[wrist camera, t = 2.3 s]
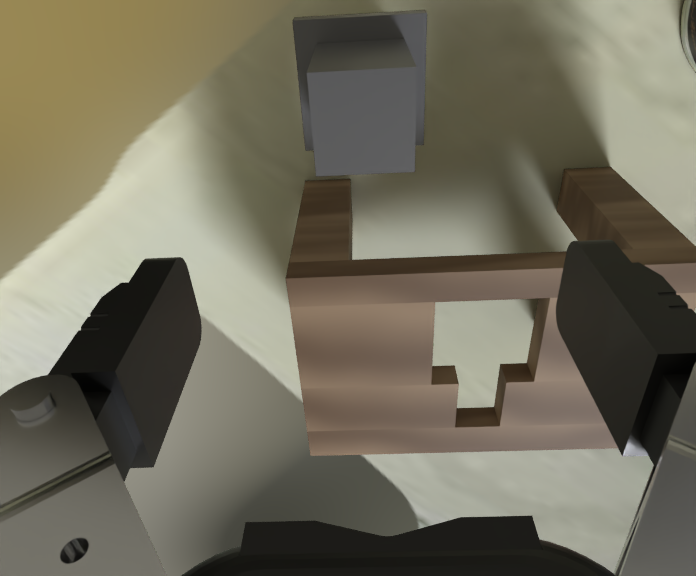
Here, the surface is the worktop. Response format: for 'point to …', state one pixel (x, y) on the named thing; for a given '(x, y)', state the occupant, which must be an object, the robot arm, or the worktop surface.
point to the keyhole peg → (362, 90)
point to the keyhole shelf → (418, 328)
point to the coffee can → (689, 31)
